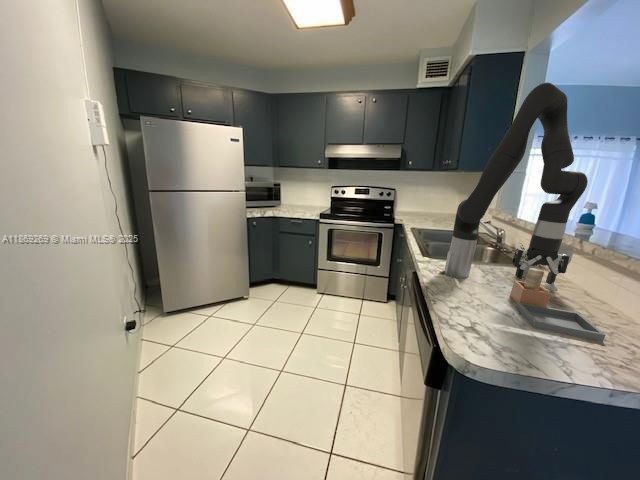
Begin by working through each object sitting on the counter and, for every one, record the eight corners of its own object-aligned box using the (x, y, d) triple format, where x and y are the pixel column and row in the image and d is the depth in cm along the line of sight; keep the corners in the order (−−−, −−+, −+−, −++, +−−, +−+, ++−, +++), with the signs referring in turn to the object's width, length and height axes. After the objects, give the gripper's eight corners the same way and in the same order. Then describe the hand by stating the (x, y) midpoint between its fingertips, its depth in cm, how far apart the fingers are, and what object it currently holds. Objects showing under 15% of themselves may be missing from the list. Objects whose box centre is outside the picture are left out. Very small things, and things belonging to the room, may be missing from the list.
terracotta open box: (517, 307, 87) (523, 289, 85) (509, 297, 94) (514, 280, 92) (544, 312, 85) (550, 293, 83) (533, 302, 92) (539, 284, 90)
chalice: (566, 295, 98) (581, 251, 94) (546, 293, 100) (560, 249, 95) (553, 287, 105) (567, 245, 101) (534, 285, 107) (547, 244, 102)
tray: (532, 330, 74) (535, 321, 73) (516, 310, 85) (518, 302, 85) (601, 344, 70) (605, 335, 69) (575, 321, 81) (578, 312, 80)
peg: (522, 303, 88) (532, 271, 85) (517, 298, 92) (527, 267, 88) (536, 306, 87) (546, 273, 83) (531, 300, 90) (540, 269, 87)
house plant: (501, 266, 127) (510, 235, 122) (536, 273, 121) (546, 239, 116) (507, 276, 114) (517, 241, 110) (546, 284, 108) (558, 247, 104)
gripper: (526, 234, 81) (513, 281, 86) (582, 240, 77) (565, 289, 81) (517, 229, 88) (505, 273, 92) (567, 235, 84) (552, 280, 88)
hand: (533, 280), depth 87 cm, fingers open, 8 cm apart
